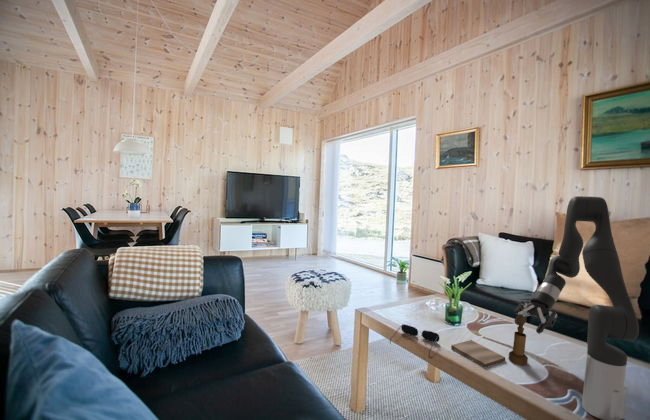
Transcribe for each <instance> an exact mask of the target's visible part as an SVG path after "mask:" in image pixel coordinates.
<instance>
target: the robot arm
mask: <svg viewBox="0 0 650 420" xmlns="http://www.w3.org/2000/svg"><path fill="white" fill-rule="evenodd" d="M609 213H610V212H609V209H608V203H607V201H606V200H605V198H603V197H600V196H583V195H582V196H578V195H577V196H572V197H571V198H570V199H569V201H568V205H567V207H566V214H565V221H564V229H563V236H562V241H561V243H560V247H559V249H558V255H555V256H553V257H552V258H550V261H549V265H548V269H547V274H546V276H545V278H544V280H543V281H542V283H541V284H540V285H539V286H538V288H537V290H536V291H535V292H534V295H532V298H531V300H530V302H528V303H527V302H525V300H521V301H520V302H519V304H518V305H517V306H516V307H515V309H514V313H515V314H516V316H515V318H514V324H515V325H517V326H519V324H518V322H517V318H518V317H519V316H522V317H524V318H526V317H530V316H531V317H534V318H536V319H538V320H539V319H540V321H541V322H540V323H539V324H538V326H537V327H536V329H535V331H536V333H537V334H539V335H540V334H542V333H543V332H544V330H545V329H546V328H547V327H549V328H553V326H554V325H555V323H556V321H557V319H558V317H559V316H558V313H557V312H556V311H555V310H552V309H553V307H554V305H555V304H556V302H557V301H558V299H559V297H560V295H561V293H562V292H563V291H562V290H563V289H564V287H565V286H566V284H567V283H566V280H565V278H564V277H567V278H571V279H572V278H575V277H577V276H578V275H579V272H580V269H581V268H580V267H581V265H580V256H581V254H582V259H583V260H582V261H583V264H584V269H585V271H586V272H587V274H588V276H589V277H590V278H591V279H592V280H593V281H594V282H595V283H596V284H597V285H598V286H599V288H601V289H602V290H603V291H604V292H605V293H606V295H607V297H608V298H609V300H610V302H611V304H612V306H610V305H603V304H593V305H592V306H591V307H590V309H589V312H588V315H587V316H588V317H587V318H588V319H587V321H588V322H587V340H586V341H587V348H586V349H587V350H586V360H585V370H584V378H583V379H584V380H583V381H584V382H583V390H582V397H581V398H582V400H581V407H582V409H584V410H585V412H586V413H588V414H590V415H591V416H593V417H595V418H597V419H600V420H623V419H624V418H625V411H626V410H625V409H626V401H627V400H626V399H627V391H628V389H627V387H625V383H626V382H625V381H626V373H627V364H628V355H627V354H626V353H625V351H623V350H622V349H620V348H618V347H617V346H615V345H612V344H610V343H608V342H607V340H606V339H607V338H608V339H609V338H610V339H615V340H616V339H617V340H624V341H634V340H637V339H638V336H639V334H640V333H639V332H640V325H639V320H638V317H637V314H636V311H635V308H634V306H633V303H632V301H631V298H630V295H629V292H628V290H627V287H626V283H625V279H624V276H623V275H624V274H623V270H622V266H621V262H620V259H619V258H620V257H619V254H618V251H617V247H616V245H615V240H614V237H613V232H612V227H611V222H610V214H609ZM577 222H590V223H591V222H592V223H594V225H595V229H594V232H593V233H592V235H591V237H590V238H589V239H588V240H587V242H586V243H585V245H584V239H583V237H582V235H581V233H580V232H579V231H578V228H577ZM561 275H562V276H564V277H562V276H561ZM547 316H549V317H548V320H546V317H547Z"/></svg>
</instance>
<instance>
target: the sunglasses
mask: <svg viewBox="0 0 650 420" xmlns="http://www.w3.org/2000/svg"><path fill="white" fill-rule="evenodd" d="M400 329H401V331H402V332H403V333H404V334H405V333H406V335H409V334H410V335H409V336H413V337H418V335H419V333H420V335H421V337H422V339H424V340H427V341H431V342H433V341H434V342H433V343H432V344H431V346H430V348H429V351H428V356H430V354H431V350H432V348H433V347H434V345H435V343H438V342H439V341H440V334H438V333H437V332H435V331H431V330H426V329H424V330H422V331H419V330H418V329H417V327H415V326H412V325H410V324H409V325H408V324H404V323H403V324H401V325H400V326H399V327H398V329H396V331H395V332H394V334H393V335H392V336H391V337H390V339H389V345H391V343H392V342H391V341H392V339H393V337H394V336H395V335H396V334H397V333H398V331H399V330H400Z"/></svg>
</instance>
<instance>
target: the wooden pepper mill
mask: <svg viewBox="0 0 650 420" xmlns="http://www.w3.org/2000/svg"><path fill="white" fill-rule="evenodd" d="M517 322H518V324H519V325H517V331H515V332H514V337H513V345H512V346H513V348H512V350H511V351H509V352H508V360H509V361H510V362H511V363H512V364H515V365H519V366H526V365H528V361H529V360H528V358H529V357H528V356H527V355H526V354H525V351H526V339H527V334H526V333H524V330H525V328H524V325H525V324H526V322H527V320H526V317H522V316H519V317H518V318H517Z"/></svg>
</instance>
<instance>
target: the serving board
mask: <svg viewBox="0 0 650 420" xmlns="http://www.w3.org/2000/svg"><path fill="white" fill-rule="evenodd" d="M450 346H451V347H450V348H451V350H453V351H455V352H456V351H457V352H456V353H458V354H460V355H461V356H463V355H464V357H465V358H467V359H468V360H470V359H471V360H470V361H472V360H473V361H472V362H474V363H476V364H477V363H478V365H479V364H480V365H479V366H481V365H482V366H481V367H483V368H485V367H486V368H489V367H491V366H495V365H497V364H501V363H504V362H506V356H504V355H502V354H499V353H497V352H495V351H494V350H492V349H489V348H488V347H486V346H483V345H482V344H480V343H478V342H475V341H474V340H472V339H469V340H465V341H463V342H458V343H455V344H451V345H450ZM488 366H489V367H488Z"/></svg>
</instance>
